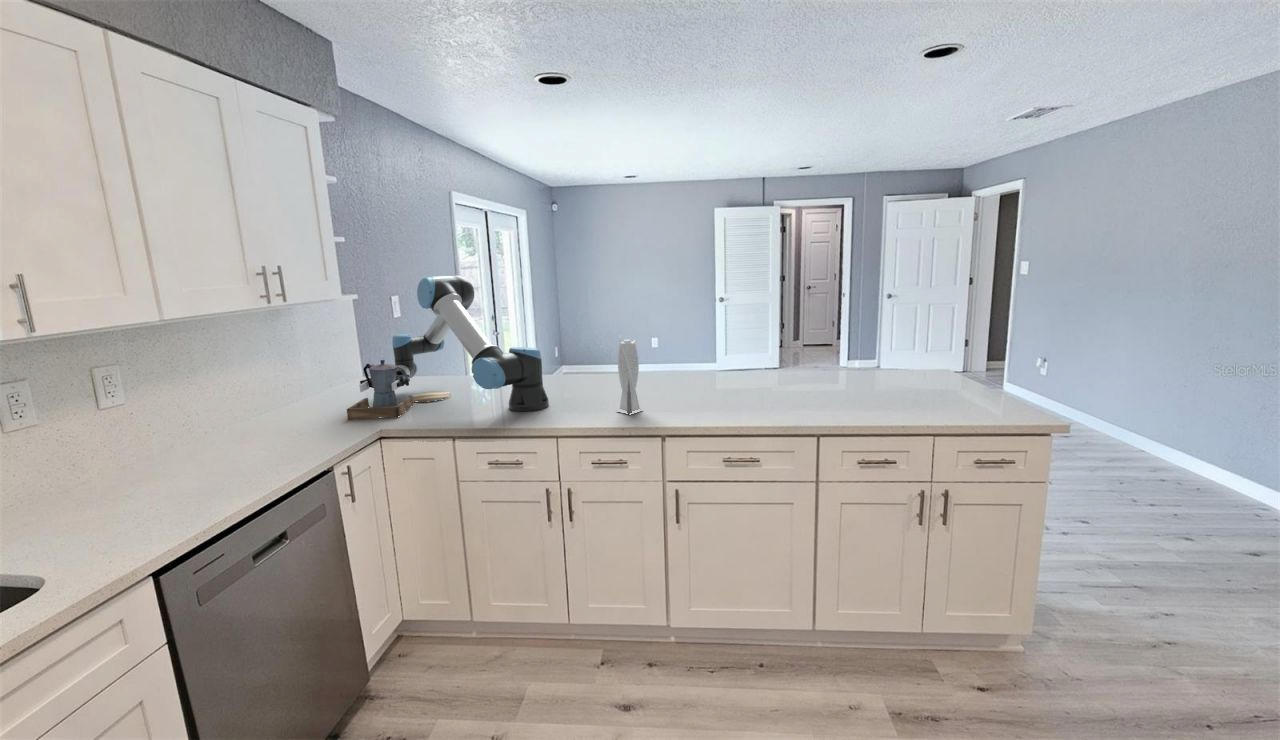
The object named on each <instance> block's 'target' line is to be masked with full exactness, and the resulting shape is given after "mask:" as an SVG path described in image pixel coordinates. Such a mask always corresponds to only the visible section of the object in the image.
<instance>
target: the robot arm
mask: <svg viewBox="0 0 1280 740" xmlns="http://www.w3.org/2000/svg"><path fill="white" fill-rule="evenodd" d="M416 289H417V290H416V296H417V301H418V304H419V305H420V306H421V308H422V309H426V310H428V309H430V310H431V311H432V312H433V313H434V315H435V316H436V317H435V318H434V320H433V321H432V323H431V324H430V326H429V327H428V328H427V330H426V332H425V333H424V335H421V336H414V337H413V336H411V334H410V333H399V334H398V333H397V334H394V335H392V340H391V341H392V348H393V349H392V351H393V356H394V365H395V366H396V367H397V369H398V371H397V372H396V381H395V382H393V383H392V384H391V385H392V391H396V390H398V389H399V388H400V387H401V388H402V387H403V386H410V381H411V379H412V378H413V377H415V375H416V374H417V372H418V365H417V363H416V362H415V360H414V356H415V355H422V354H427V353H434V352H435V353H436V352H438V351H441V350H443V349H444V348H445V347H444V346H445V339H444V338H445V337H446V336H447V334H449V332H450V330H451V331H452V333H454V335H455V336H456V338H457V340H458V341H459V343H461V344H462V346H463V348H464V349H465V351H466V352H467V353H468V354H469V356H470V357H471V358H472V360H471V373H472V378H473V380H474V382H475V383H476V384H477V385H478V386H480V388H482V389H484V390H497V389H501V388H502V387H507V386H510V385H511V386H512V387H511V392H510V396H509V399H508V400H509V401H508V409H509V410H511V411H514V412H533V411H540V410H543V409H547V408H548V407H549V405H550V404H549V397H548V395H547V393H546V390H545V387H544V382H543V364H542V363H543V362H542V361H543V360H542V353H541V351H540V349H538V348H536V347H535V348H534V347H525V346H523V347H522V346H520V347H519V346H515V347H513V346H512V347H509V350H508V352H505V353H504V351H503V350H502V349H501V348H500V346H498V345H496V344H494V345H493V344H492V343H491V341H490V340H489V338H488V337H487V336H486V335H485V333H483V331H482V329H481V328H480V327H479V326H478V323H476V322H475V320H474V319H473V318H472V317H471V315H470V314H469V313H468V309H469V308H470V307H471V305H472V304H473V302H474V299H475V289H474V286H473V284H472V283H471V282H470V280H469V279H467V278H466V277H463V276H461V275H444V276H443V275H442V276H440V275H439V276H427V277H424V278H422V279H420V281H419V282H418V285H417V288H416ZM369 379H370V382H371V385H372V381H371V377H369ZM369 388H370V387H369V385H368V381H367V379H362V380H360V381H359V392H360V393H363V392H365V391H367V390H368V389H369Z"/></svg>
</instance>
